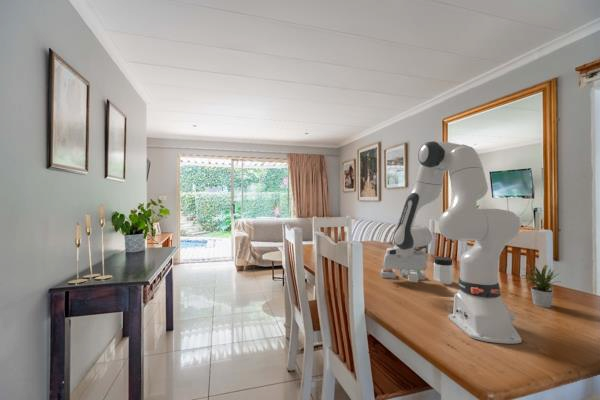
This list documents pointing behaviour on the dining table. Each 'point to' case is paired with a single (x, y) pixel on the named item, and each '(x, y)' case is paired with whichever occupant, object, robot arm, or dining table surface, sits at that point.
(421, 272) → the panel
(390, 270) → the terracotta button
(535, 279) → the house plant
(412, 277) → the slider knob
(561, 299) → the dining table surface
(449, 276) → the jar
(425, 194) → the robot arm
